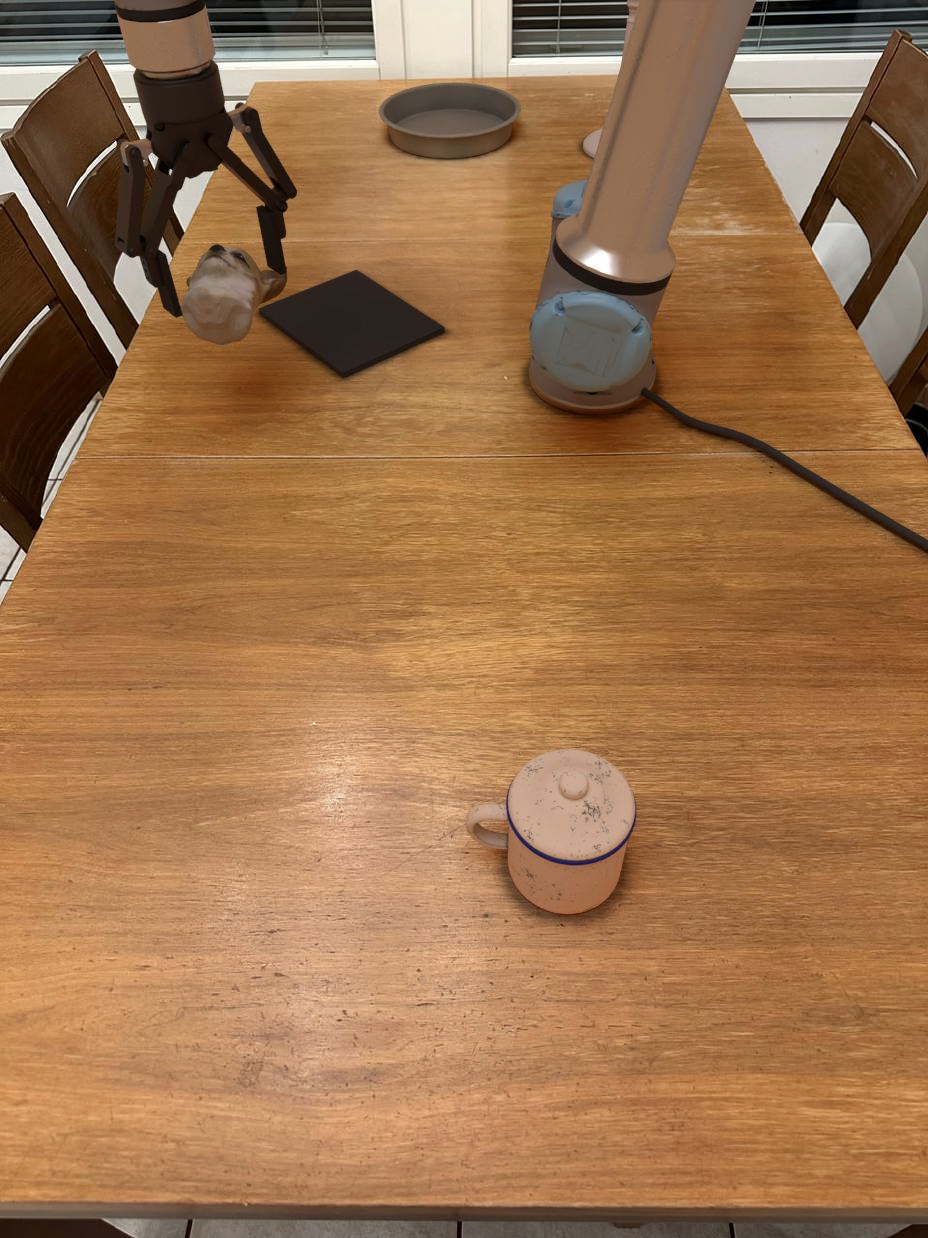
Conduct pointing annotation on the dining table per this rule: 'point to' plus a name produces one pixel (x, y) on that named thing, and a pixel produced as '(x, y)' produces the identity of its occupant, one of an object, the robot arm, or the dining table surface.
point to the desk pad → (351, 322)
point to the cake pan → (450, 119)
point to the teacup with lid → (562, 829)
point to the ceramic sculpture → (227, 294)
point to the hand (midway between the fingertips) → (226, 290)
